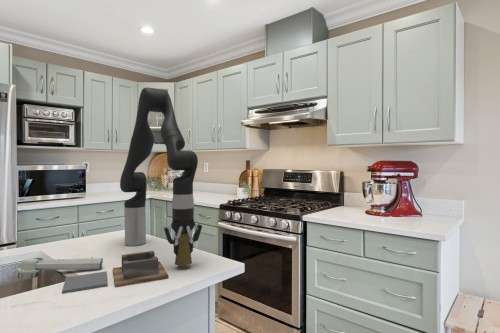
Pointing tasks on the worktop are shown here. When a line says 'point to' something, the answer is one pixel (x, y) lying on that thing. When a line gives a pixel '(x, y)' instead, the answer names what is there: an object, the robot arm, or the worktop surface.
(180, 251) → the olive pawn
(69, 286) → the mat
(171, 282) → the worktop surface
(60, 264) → the toothbrush head
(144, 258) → the collar block
